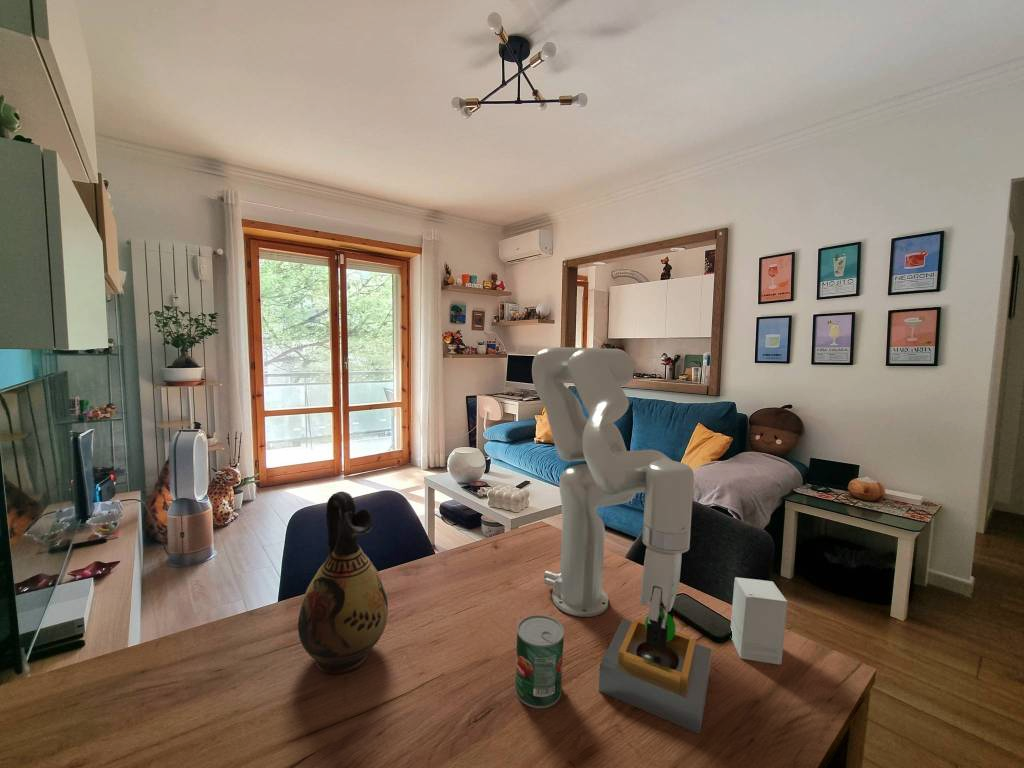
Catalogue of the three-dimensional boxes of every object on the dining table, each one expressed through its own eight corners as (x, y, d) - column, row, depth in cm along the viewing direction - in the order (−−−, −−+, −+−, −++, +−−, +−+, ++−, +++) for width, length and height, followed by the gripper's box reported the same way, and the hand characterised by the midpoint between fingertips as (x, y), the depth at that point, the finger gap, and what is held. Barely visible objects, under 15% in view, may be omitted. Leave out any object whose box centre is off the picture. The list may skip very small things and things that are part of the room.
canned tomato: (505, 685, 76) (507, 625, 75) (540, 665, 81) (542, 608, 80) (535, 717, 70) (538, 652, 69) (571, 694, 74) (574, 633, 73)
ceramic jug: (404, 654, 82) (405, 499, 79) (322, 703, 71) (318, 524, 68) (359, 613, 94) (358, 476, 91) (282, 650, 83) (277, 495, 79)
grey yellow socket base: (598, 691, 75) (600, 652, 74) (625, 634, 90) (627, 601, 89) (700, 734, 68) (703, 692, 67) (711, 664, 82) (713, 629, 82)
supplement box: (782, 666, 82) (789, 602, 81) (739, 659, 84) (745, 596, 82) (768, 639, 90) (774, 580, 88) (728, 633, 91) (733, 575, 90)
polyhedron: (648, 625, 80) (649, 600, 79) (677, 635, 77) (678, 610, 77) (641, 642, 76) (642, 615, 75) (671, 652, 73) (673, 625, 73)
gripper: (653, 513, 84) (648, 604, 86) (630, 549, 69) (624, 658, 71) (696, 522, 80) (689, 617, 82) (681, 562, 65) (673, 677, 67)
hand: (659, 635), depth 76 cm, fingers closed on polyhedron, 5 cm apart
